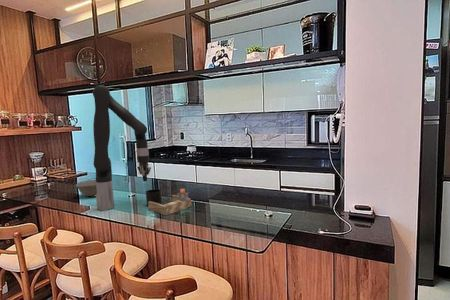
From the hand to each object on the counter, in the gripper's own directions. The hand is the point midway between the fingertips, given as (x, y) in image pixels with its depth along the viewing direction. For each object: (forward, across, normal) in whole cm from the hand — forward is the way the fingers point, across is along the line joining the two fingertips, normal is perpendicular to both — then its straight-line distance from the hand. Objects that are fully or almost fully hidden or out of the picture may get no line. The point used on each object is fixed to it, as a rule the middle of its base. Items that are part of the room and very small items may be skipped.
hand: (145, 180), depth 191 cm
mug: (+14, +10, 0) cm, 18 cm away
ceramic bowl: (+14, -50, -13) cm, 54 cm away
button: (+7, +32, +5) cm, 33 cm away
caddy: (+14, +25, 0) cm, 29 cm away
